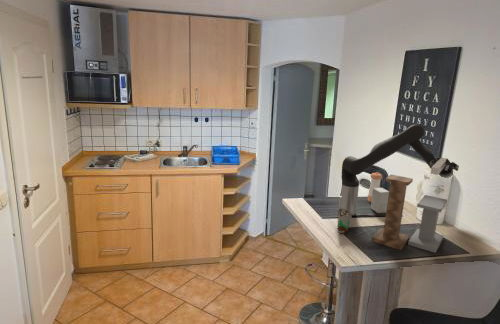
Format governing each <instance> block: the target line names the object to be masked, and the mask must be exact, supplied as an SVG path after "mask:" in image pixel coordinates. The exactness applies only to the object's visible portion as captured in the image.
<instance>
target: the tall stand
mask: <svg viewBox="0 0 500 324" xmlns="http://www.w3.org/2000/svg"><path fill="white" fill-rule="evenodd" d="M413 180H414V179H413V178H412V177H406V176H400V175H396V174H390V175H388V176H386V177H385V182H388V183H389V189H388V191H389V196H388V203H387V210H386V213H385V219H384V224H383V226H384V227H380V228H379V229H378V230H377V231H376V232H375V233H374V234H373V235H372V236H371V241H372V242H373V243H377V244H381V245H383V246H386V247H389V248H393V249H396V250H400V251H402V250H403V249H404V247H405V246H406V244H407V243H408V242H409V240H410V238H411V237H410V235H408V234H405V233H402V232H401V233H400V231H401V227H402V219H403V212H404V208H405V207H404V206H405V198H406V194H407V193H406V192H407V187H408V186H409V185H410V184H412V183H413Z"/></svg>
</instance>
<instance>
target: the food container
mask: <svg viewBox="0 0 500 324" xmlns="http://www.w3.org/2000/svg"><path fill="white" fill-rule="evenodd" d="M338 208H339V207H338ZM352 216H353V215H351V212H350V211H348V210H346V209H343V208H339V212H338V217H337V234H338V233H340V234H339V235H345V234H347V233H348V232H349V226H350V222H351V219H352V218H353V217H352Z"/></svg>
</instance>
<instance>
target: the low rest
mask: <svg viewBox="0 0 500 324" xmlns="http://www.w3.org/2000/svg"><path fill="white" fill-rule="evenodd" d="M447 203H448V199H447V198H446V199H445V198H441V197H435V196H432V195H427V194H425V195H423V196H422V198H421V199H420V200H419V201H418V203H416V204H417V205H416V207H417V208H420V209H422V214H421V220H420V224H419V225H420V227H418V228H416V230H415V231H414V233H413V234H412V236H411V237H409V240H408V242H407V243H408V246H411V247H415V248H418V249H422V250H425V251H428V252H432V253H435V254H436V253H437V251H438V249H439V247H440V245H441V243H442V242H443V240H444V239H443V238H444V235H443V234H440V233H436V230H437V225H438V224H437V223H438V220H439V214H440V213H441V212H442V211H443V210H444V208H445V207H446V205H447Z"/></svg>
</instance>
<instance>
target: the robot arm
mask: <svg viewBox="0 0 500 324" xmlns="http://www.w3.org/2000/svg"><path fill="white" fill-rule="evenodd" d="M424 135H425V128H424V127H423V126H422V125H420V124H411V125H410V126H408V127H407V128H405V129H404V130H403V131H402V132H400V133H398V134H396V135H393V136H391V137H388V138H386V139H385V140H383V141H380V142H378V143H377V144H375V145H374V146H373V147H372V148H371V149H370V151H369V153H368V154H366V155H364V156H363V157H359V158H357V157H355V156H352V155H351V156H347V157H345V158H344V160H343V161H342V164H341V181H342V182H341V194H340V195H339V201H338V210H337V212H338V213H339V208H343V209H346V210H348V211H350V212H351V216H354V215H356V213H357V205H358V196H359V190H360V189H359V188H360V180H359V179H358V177H357V176H358V175H361V174H362V173H363V172H365V171H366V170H368V169H369V168H370V167H373V166H374V165H375V164H377V163H379V162H381V161H382V160H385V159H387V158H389V157H390V156H392V155H394V154H395V153H397V152H398V151H400V149H403V148H404V147H405V146H406V145H409V146H410V147H411V148H412V149H413V150H414V151H415V152H416V153H417V154H418V155H419V156H420V157H421V158H422V159H423V160H424V162H425V163H426V164H427V166H428V167H429V168H430V169H431V168H432V166H433V165H434V164H435V163H436V162H437V161H438V160H439V159H440V158H441V157H439V158H437V160H436V159H435V158H434V156H433V154H432V153H431V151H432V150H431V149H429V148H428V147H426V146H425V145H424V143H422V141H421V139H422V138H423V137H424ZM430 150H431V151H430ZM459 167H460V166H459V164H457V163H456V162H454V161H452V162H451V161H450V159H449V158H448V159H446V166H445V167H444V168H443V169H442V171H441V172H440V173H439V175H440V176H441V177H444V178H449V177H451V176H452V175H453V172H454V171H456V172H458V171H459V169H460V168H459Z"/></svg>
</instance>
